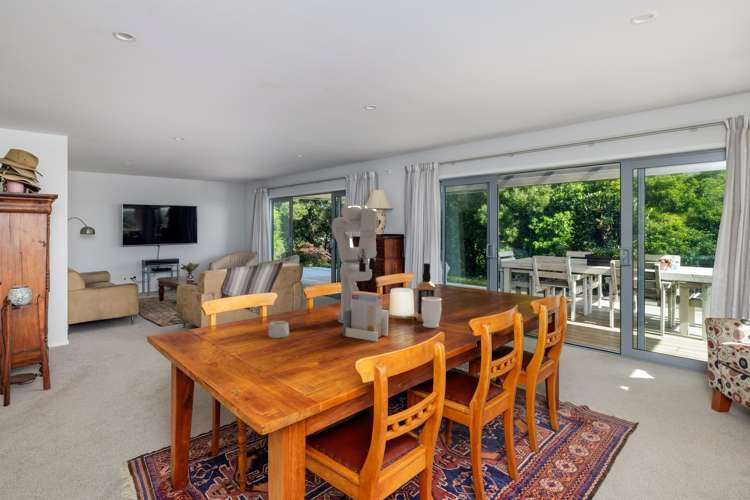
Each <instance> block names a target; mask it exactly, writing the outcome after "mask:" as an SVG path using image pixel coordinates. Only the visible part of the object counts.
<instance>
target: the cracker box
mask: <svg viewBox="0 0 750 500" xmlns="http://www.w3.org/2000/svg"><path fill="white" fill-rule="evenodd" d="M382 310H383V293H378V292H370V291H369V292H368V291H362V290H361V291H360V290H359V291H356V292H352V306H351V328H354V329H360V330H366V331H372V332H378V339H379V338H381V337H382V335H381V330H382Z"/></svg>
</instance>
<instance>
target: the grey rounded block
mask: <svg viewBox="0 0 750 500" xmlns="http://www.w3.org/2000/svg"><path fill="white" fill-rule="evenodd" d="M267 334H268V335H267V336H268V337H270V338H273V339H283V338H287V337H289V336H290V326H289V322H287V321H285V320H278V321H277V320H276V321H271V322H270V323H269V325H268V332H267Z"/></svg>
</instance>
